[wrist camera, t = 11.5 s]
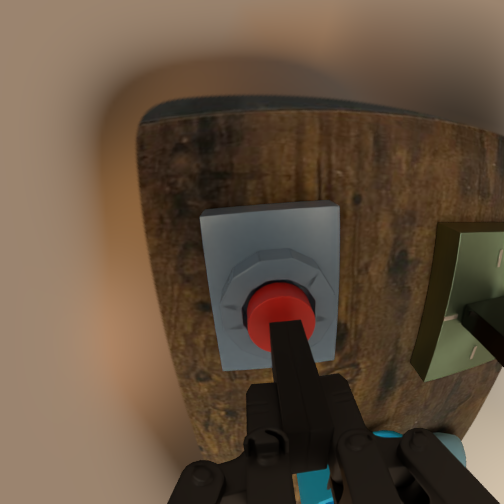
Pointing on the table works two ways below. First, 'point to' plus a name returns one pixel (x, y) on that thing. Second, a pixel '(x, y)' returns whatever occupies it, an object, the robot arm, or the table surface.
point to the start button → (277, 311)
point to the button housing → (271, 270)
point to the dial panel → (458, 296)
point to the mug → (324, 480)
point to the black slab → (487, 325)
